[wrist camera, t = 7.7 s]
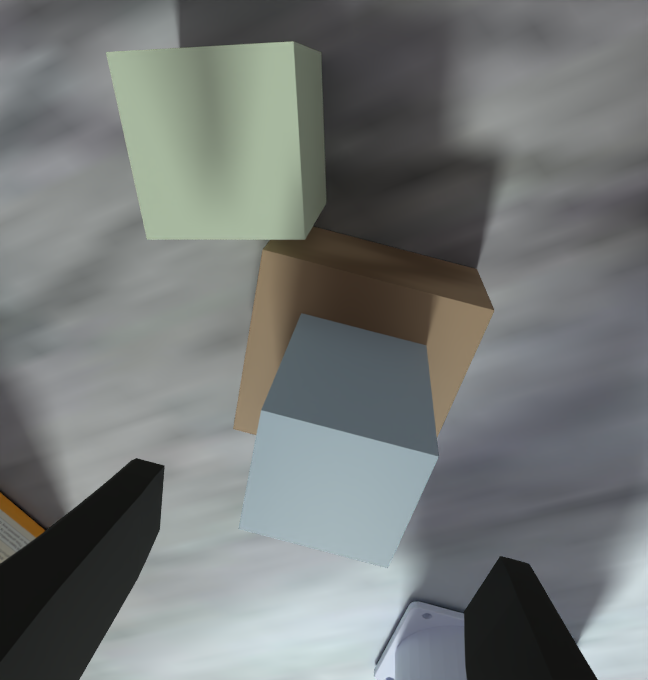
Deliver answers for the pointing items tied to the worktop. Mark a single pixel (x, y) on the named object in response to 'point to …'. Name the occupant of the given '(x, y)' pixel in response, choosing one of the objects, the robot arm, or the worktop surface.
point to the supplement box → (15, 528)
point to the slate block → (343, 442)
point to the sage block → (224, 139)
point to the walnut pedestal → (362, 309)
